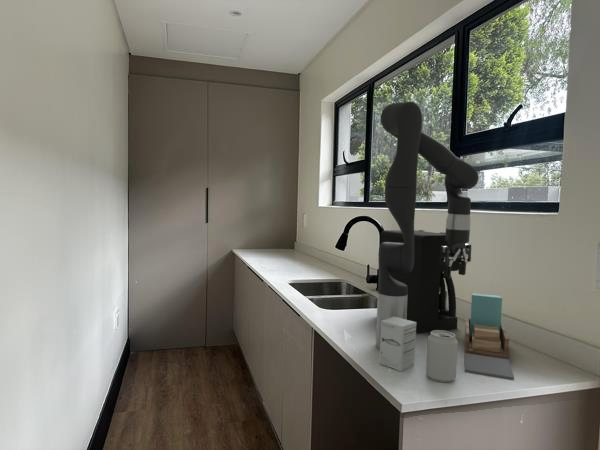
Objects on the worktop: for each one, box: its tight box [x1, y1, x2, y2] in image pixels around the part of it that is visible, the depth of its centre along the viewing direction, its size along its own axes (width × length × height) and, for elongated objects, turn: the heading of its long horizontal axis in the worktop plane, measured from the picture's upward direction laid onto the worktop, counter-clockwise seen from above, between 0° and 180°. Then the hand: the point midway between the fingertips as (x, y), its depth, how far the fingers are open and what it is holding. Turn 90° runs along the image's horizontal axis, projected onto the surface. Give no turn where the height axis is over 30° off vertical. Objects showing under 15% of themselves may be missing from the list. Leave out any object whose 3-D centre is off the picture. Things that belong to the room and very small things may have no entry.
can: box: [425, 330, 459, 383], centre depth 110 cm, size 8×8×12 cm
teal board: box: [470, 292, 503, 338], centre depth 139 cm, size 3×9×15 cm, turn 69°
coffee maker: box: [380, 229, 460, 335], centre depth 160 cm, size 28×20×35 cm
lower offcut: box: [472, 333, 501, 353], centre depth 133 cm, size 7×8×3 cm
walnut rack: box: [464, 317, 510, 359], centre depth 135 cm, size 16×12×7 cm
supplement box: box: [378, 317, 417, 372], centre depth 118 cm, size 7×7×13 cm
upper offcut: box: [474, 324, 499, 342], centre depth 133 cm, size 6×7×3 cm
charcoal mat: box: [464, 352, 515, 380], centre depth 119 cm, size 14×12×1 cm
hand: (454, 275), depth 141 cm, fingers open, 8 cm apart
